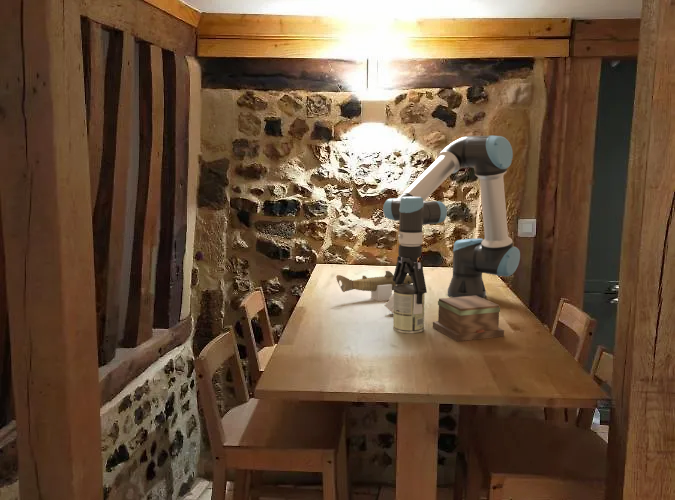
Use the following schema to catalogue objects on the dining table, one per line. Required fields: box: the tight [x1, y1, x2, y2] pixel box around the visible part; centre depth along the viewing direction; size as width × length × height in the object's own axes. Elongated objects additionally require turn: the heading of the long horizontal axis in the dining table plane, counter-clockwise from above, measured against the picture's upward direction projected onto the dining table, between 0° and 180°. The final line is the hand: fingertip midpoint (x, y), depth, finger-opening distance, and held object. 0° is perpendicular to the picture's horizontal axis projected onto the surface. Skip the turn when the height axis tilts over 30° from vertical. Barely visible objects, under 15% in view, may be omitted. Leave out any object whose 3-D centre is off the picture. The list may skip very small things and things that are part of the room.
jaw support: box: [384, 293, 394, 315], centre depth 229 cm, size 12×9×10 cm
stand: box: [432, 295, 505, 342], centre depth 204 cm, size 17×16×10 cm
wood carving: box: [335, 270, 413, 302], centre depth 247 cm, size 9×35×11 cm, turn 114°
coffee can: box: [392, 283, 426, 334], centre depth 206 cm, size 10×10×14 cm
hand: (408, 308), depth 206 cm, fingers open, 13 cm apart
